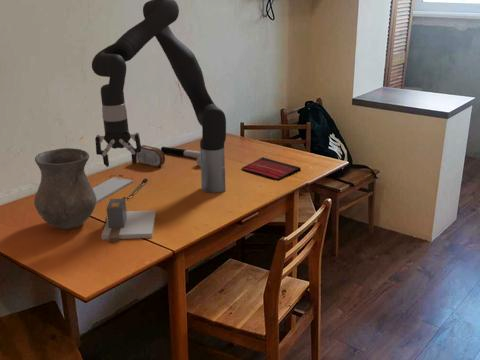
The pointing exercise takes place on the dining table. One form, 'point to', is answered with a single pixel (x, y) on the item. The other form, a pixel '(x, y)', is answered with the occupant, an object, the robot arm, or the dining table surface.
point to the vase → (64, 188)
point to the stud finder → (116, 213)
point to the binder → (271, 168)
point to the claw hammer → (183, 153)
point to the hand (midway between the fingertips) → (120, 165)
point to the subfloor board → (132, 226)
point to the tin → (151, 156)
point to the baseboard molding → (110, 187)
